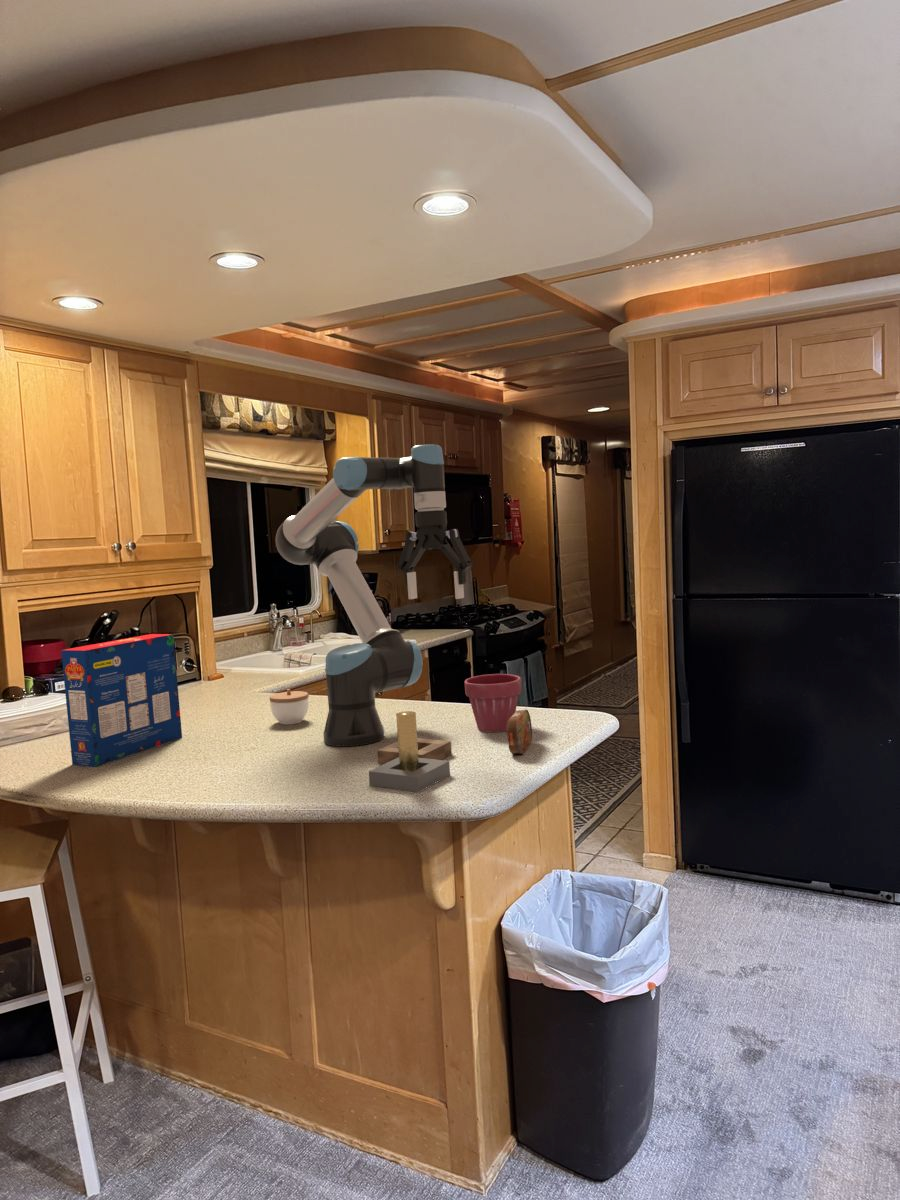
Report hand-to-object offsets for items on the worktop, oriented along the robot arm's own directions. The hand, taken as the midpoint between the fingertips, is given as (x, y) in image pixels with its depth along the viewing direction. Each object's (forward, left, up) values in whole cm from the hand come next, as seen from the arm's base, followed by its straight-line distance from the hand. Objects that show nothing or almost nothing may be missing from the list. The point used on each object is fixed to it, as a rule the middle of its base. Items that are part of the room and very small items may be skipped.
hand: (435, 598), depth 200 cm
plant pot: (+7, +14, -35) cm, 38 cm away
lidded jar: (-52, +3, -35) cm, 63 cm away
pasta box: (-72, -35, -35) cm, 88 cm away
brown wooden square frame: (+3, -17, -35) cm, 39 cm away
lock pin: (+11, -31, -35) cm, 48 cm away
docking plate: (+11, -31, -35) cm, 48 cm away
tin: (+22, -2, -35) cm, 41 cm away
